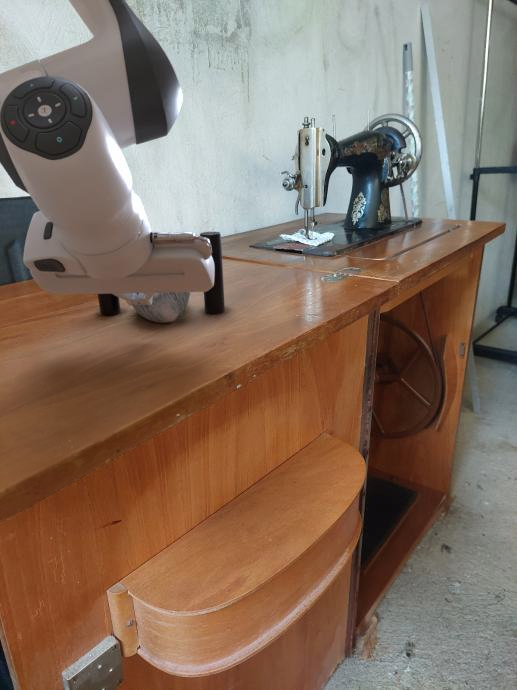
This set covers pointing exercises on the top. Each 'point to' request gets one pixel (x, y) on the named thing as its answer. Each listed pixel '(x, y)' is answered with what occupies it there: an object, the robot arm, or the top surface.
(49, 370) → the top surface
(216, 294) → the goal posts
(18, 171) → the robot arm
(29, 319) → the top surface
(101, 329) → the top surface
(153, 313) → the grey streaked stone
